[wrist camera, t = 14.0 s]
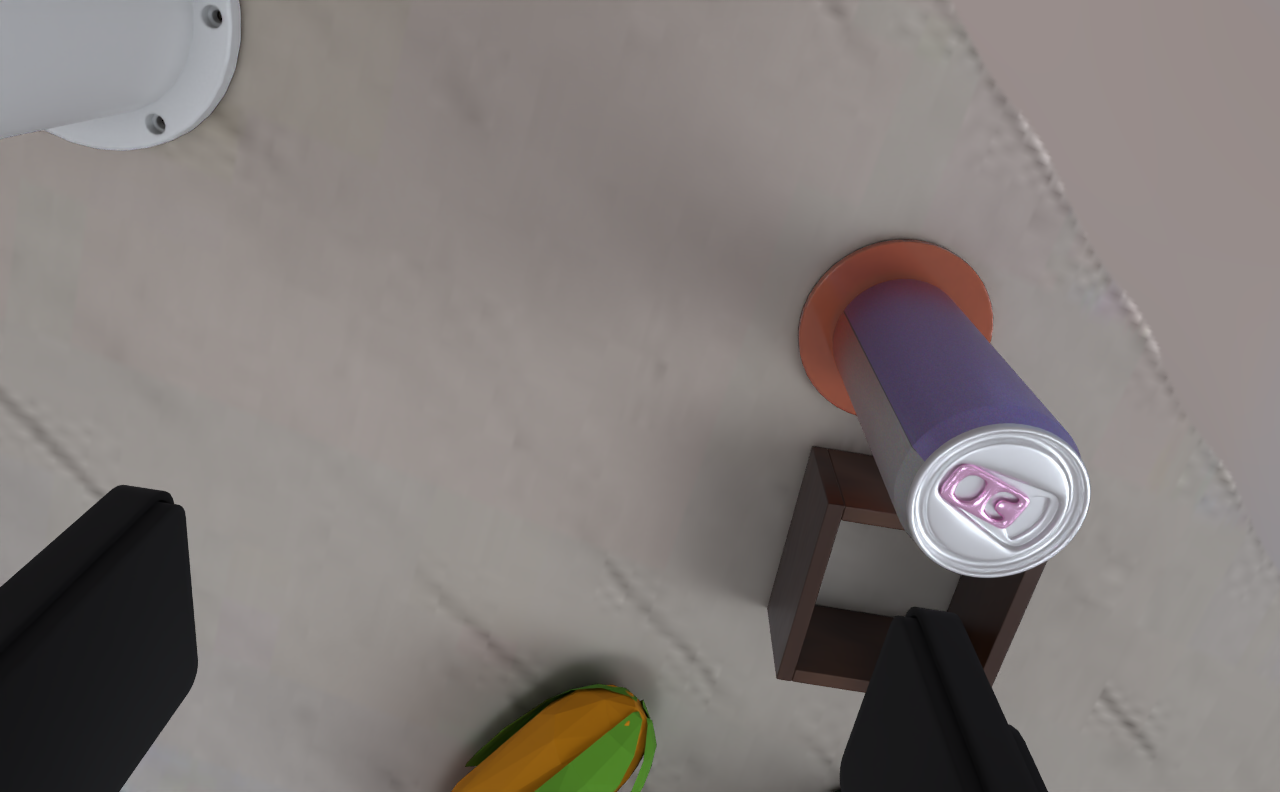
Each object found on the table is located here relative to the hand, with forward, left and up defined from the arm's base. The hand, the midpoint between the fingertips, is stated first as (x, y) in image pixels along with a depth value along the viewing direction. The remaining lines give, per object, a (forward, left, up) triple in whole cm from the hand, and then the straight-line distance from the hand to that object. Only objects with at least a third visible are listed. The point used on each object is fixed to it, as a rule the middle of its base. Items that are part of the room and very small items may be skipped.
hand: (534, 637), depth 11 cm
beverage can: (+13, -5, -30) cm, 33 cm away
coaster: (+13, -5, -30) cm, 33 cm away
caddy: (+16, -17, -30) cm, 38 cm away
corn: (-1, -36, -30) cm, 47 cm away
